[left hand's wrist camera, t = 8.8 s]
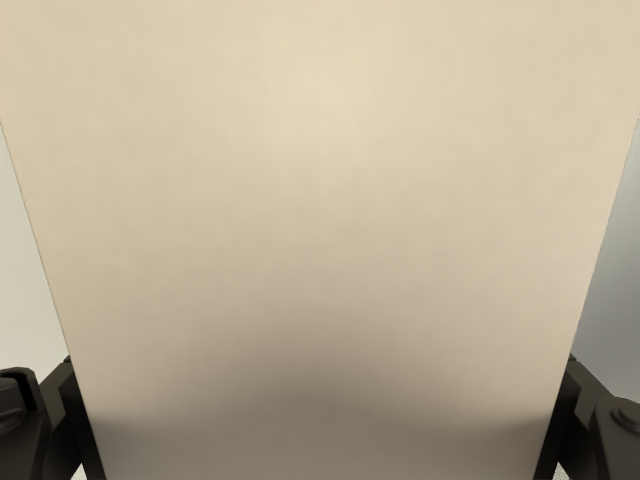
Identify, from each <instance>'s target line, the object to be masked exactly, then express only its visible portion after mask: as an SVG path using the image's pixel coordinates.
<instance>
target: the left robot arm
mask: <svg viewBox="0 0 640 480" xmlns="http://www.w3.org/2000/svg"><path fill="white" fill-rule="evenodd" d="M558 462H559V463H560V465H561V466H562V468H563V469H564V471H565V472H566V474H567V475H568V477H569V480H640V404H639V403H636V402H633V401H631V400H628V399H624V398H619V397H614V396H613V395H612V394H611V393H610V392H609V391H608V390H607V389H606V388H605V387H604V386H603V385H602V384H601V383H600V382H599V381H598V380H597V379H596V378H595V377H594V376H593V375H592V374H591V373H590V372H589V371H588V370H587V369H586V368H585V367H584V366H583V365H582V364H581V363H580V362H579V361H576V358H575V357H574V356H573V355H572V354H571V353H570V354H569V358H568V361H567V365H566V368H565V371H564V375H563V378H562V382H561V385H560V388H559V392H558V395H557V399H556V402H555V406H554V409H553V412H552V416H551V419H550V423H549V426H548V429H547V433H546V436H545V440H544V443H543V446H542V450H541V453H540V457H539V460H538V464H537V467H536V470H535V474H534V477H533V480H552V479H553V476H554V473H555V470H556V467H557V464H558ZM81 463H82V465H83V468H84V471H85V474H86V477H87V480H107V479H106V475H105V472H104V469H103V465H102V462H101V459H100V455H99V452H98V449H97V445H96V442H95V439H94V435H93V432H92V428H91V425H90V422H89V418H88V415H87V412H86V408H85V405H84V402H83V398H82V395H81V392H80V388H79V385H78V382H77V378H76V375H75V372H74V368H73V365H72V362H71V358H70V355H68V356H67V357H66V358H65V359H64V362H63V363H60V364H59V365H58V366H57V367H56V368H55V369H54V370H53V371H52V372H51V373H50V374H49V375H48V376H47V377H46V378H45V379H44V380H43V381H42V382H41V383H40V384H39V385H38V382H37V379H36V376H35V373H34V371H32V370H30V369H29V368H23V367H14V368H8V369H2V370H0V480H71V478H72V476H73V475H74V473H75V472H76V470H77V469H78V467H79V466H80V464H81Z"/></svg>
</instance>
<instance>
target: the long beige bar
mask: <svg viewBox="0 0 640 480" xmlns="http://www.w3.org/2000/svg"><path fill="white" fill-rule="evenodd" d="M639 115H640V0H0V124H1V128H2V131H3V134H4V138H5V141H6V144H7V148H8V151H9V154H10V158H11V161H12V164H13V168H14V171H15V175H16V178H17V181H18V185H19V188H20V191H21V195H22V198H23V201H24V205H25V208H26V211H27V215H28V218H29V221H30V225H31V228H32V231H33V235H34V238H35V241H36V245H37V248H38V251H39V255H40V258H41V261H42V265H43V268H44V271H45V275H46V278H47V281H48V285H49V288H50V291H51V295H52V298H53V302H54V305H55V308H56V312H57V315H58V318H59V322H60V325H61V328H62V332H63V335H64V338H65V342H66V345H67V348H68V352H69V355H70V358H71V362H72V365H73V368H74V372H75V375H76V378H77V382H78V385H79V388H80V392H81V395H82V398H83V402H84V405H85V408H86V412H87V415H88V418H89V422H90V425H91V428H92V432H93V435H94V439H95V442H96V445H97V449H98V452H99V455H100V459H101V462H102V465H103V469H104V472H105V475H106V479H107V480H533V477H534V474H535V470H536V467H537V464H538V460H539V457H540V453H541V450H542V446H543V443H544V440H545V436H546V433H547V429H548V426H549V423H550V419H551V416H552V412H553V409H554V406H555V402H556V399H557V395H558V392H559V388H560V385H561V382H562V378H563V375H564V371H565V368H566V365H567V361H568V358H569V354H570V351H571V348H572V344H573V341H574V337H575V334H576V330H577V327H578V324H579V320H580V317H581V313H582V310H583V307H584V303H585V300H586V296H587V293H588V289H589V286H590V283H591V279H592V276H593V272H594V269H595V266H596V262H597V259H598V255H599V252H600V249H601V245H602V242H603V238H604V235H605V231H606V228H607V225H608V221H609V218H610V214H611V211H612V208H613V204H614V201H615V197H616V194H617V191H618V187H619V184H620V180H621V177H622V173H623V170H624V167H625V163H626V160H627V156H628V153H629V150H630V146H631V143H632V139H633V136H634V133H635V129H636V126H637V122H638V119H639Z"/></svg>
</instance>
